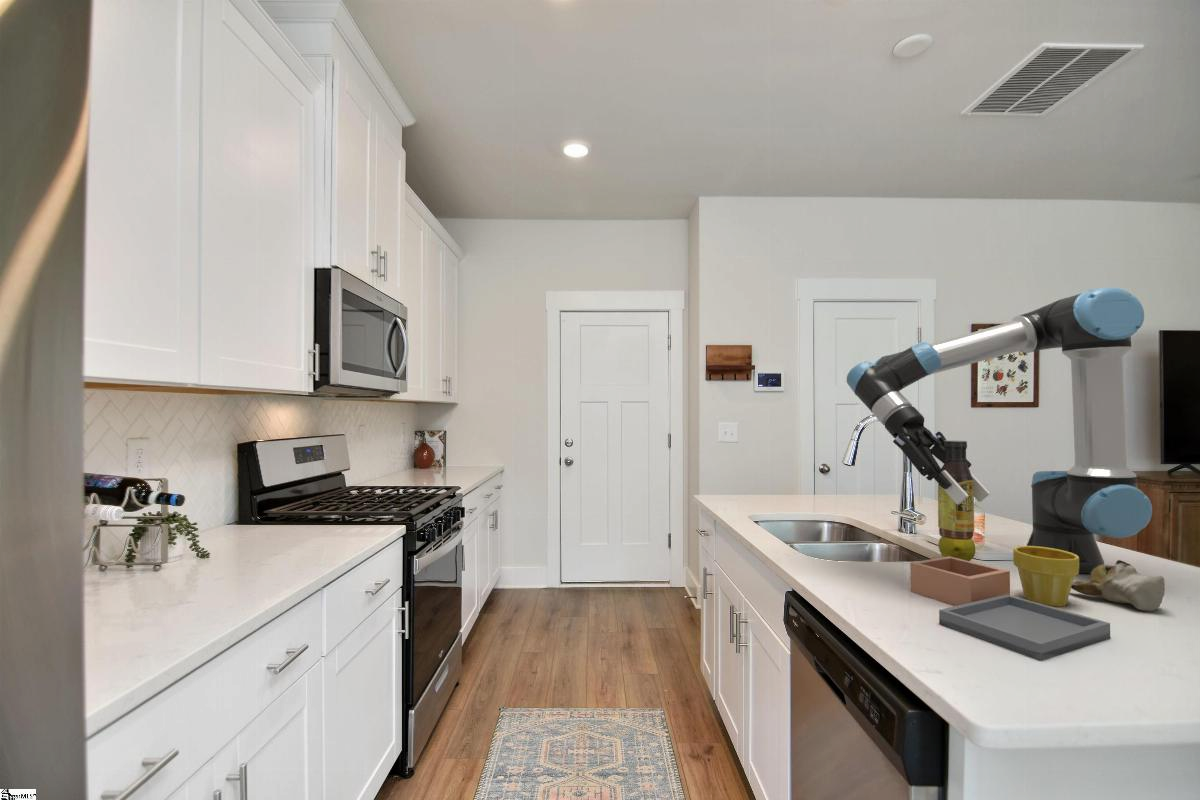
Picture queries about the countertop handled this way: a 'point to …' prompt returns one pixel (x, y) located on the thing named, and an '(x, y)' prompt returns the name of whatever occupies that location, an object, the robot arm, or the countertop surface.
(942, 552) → the lemon
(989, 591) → the terracotta holder
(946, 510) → the sauce bottle
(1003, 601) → the grey tray
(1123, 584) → the ceramic sculpture
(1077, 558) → the plant pot
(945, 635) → the countertop surface
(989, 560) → the countertop surface
